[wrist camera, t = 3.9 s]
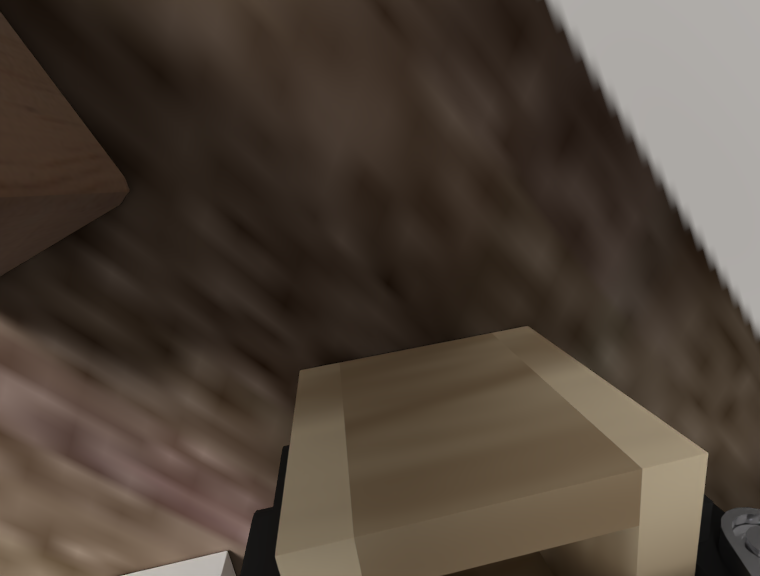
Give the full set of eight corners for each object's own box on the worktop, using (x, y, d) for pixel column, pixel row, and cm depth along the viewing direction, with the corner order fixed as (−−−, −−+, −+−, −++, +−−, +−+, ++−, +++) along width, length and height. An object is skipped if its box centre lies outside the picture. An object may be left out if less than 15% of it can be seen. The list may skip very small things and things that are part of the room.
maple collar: (299, 370, 10) (274, 556, 5) (527, 326, 10) (708, 452, 5) (341, 552, 11) (353, 826, 6) (535, 506, 12) (677, 726, 7)
